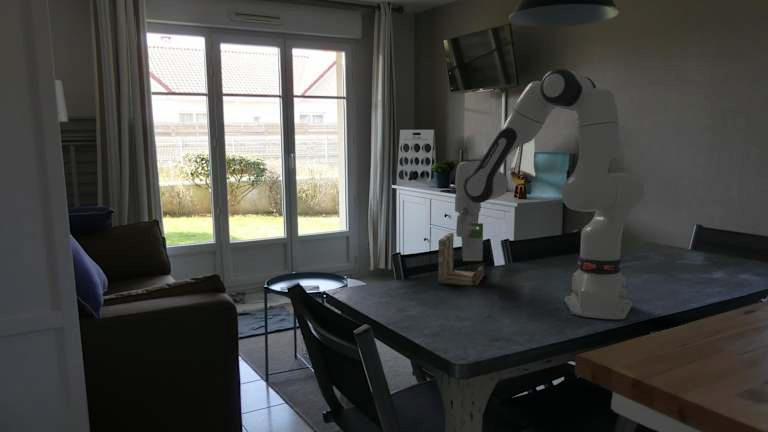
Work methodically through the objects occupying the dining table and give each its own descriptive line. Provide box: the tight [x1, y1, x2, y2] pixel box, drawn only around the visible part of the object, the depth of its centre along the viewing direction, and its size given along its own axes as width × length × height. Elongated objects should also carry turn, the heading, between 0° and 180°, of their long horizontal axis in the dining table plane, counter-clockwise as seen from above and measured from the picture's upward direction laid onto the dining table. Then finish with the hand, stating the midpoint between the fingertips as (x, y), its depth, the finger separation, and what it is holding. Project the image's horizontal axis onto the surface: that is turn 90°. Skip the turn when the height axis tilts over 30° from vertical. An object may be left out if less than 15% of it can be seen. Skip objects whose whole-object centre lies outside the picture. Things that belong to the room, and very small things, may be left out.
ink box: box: [460, 222, 484, 262], centre depth 198 cm, size 7×4×13 cm, turn 90°
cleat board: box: [437, 232, 485, 287], centre depth 200 cm, size 16×13×15 cm
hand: (467, 245), depth 199 cm, fingers closed on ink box, 5 cm apart
